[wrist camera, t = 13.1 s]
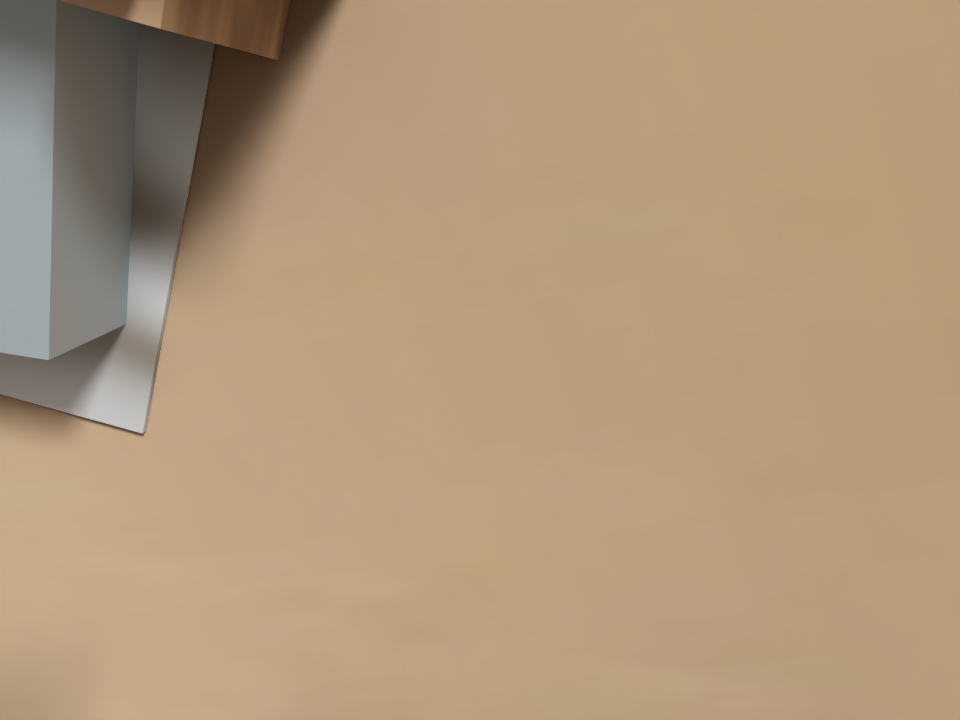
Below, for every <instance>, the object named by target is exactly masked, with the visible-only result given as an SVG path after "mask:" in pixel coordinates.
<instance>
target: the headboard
mask: <svg viewBox="0 0 960 720" xmlns="http://www.w3.org/2000/svg"><path fill="white" fill-rule="evenodd" d="M59 1H63V2H66V3H70V4H74V5H77V6H81V7H84V8H88V9H91V10H95V11H99V12H102V13H106V14H109V15H113V16H116V17H120V18H124V19H127V20H131V21H134V22H138V23H140V27H139V50H138V72H137V95H136V118H135V140H134V163H133V186H132V208H131V231H130V254H129V276H128V299H127V322H126V324H125V325H123V326H121V327H119V328H116V329H114V330H112V331H110V332H108V333H106V334H104V335H101V336H99V337H97V338H95V339H93V340H91V341H89V342H87V343H84V344H82V345H80V346H78V347H76V348H74V349H72V350H69V351H67V352H65V353H63V354H61V355H59V356H57V357H55V358H52V359H50V360H44V359H38V358H32V357H25V356H19V355H13V354H7V353H0V394H1V395H5V396H9V397H12V398H16V399H19V400H23V401H27V402H30V403H34V404H37V405H41V406H45V407H48V408H52V409H56V410H59V411H63V412H66V413H70V414H74V415H77V416H81V417H84V418H88V419H92V420H95V421H99V422H102V423H106V424H110V425H113V426H117V427H120V428H124V429H128V430H131V431H135V432H138V433H142V434H143V433H144V432H145V431H146V426H147V421H148V415H149V410H150V404H151V399H152V393H153V387H154V382H155V376H156V371H157V365H158V360H159V354H160V349H161V343H162V337H163V332H164V326H165V321H166V315H167V310H168V304H169V299H170V293H171V287H172V282H173V276H174V271H175V265H176V260H177V254H178V249H179V243H180V237H181V232H182V226H183V221H184V215H185V210H186V204H187V199H188V193H189V187H190V182H191V176H192V171H193V165H194V160H195V154H196V149H197V143H198V137H199V132H200V126H201V121H202V115H203V110H204V104H205V99H206V93H207V87H208V82H209V76H210V71H211V65H212V60H213V54H214V49H215V44H219V45H223V46H226V47H230V48H234V49H238V50H241V51H245V52H249V53H253V54H256V55H260V56H264V57H268V58H271V59H275V60H279V57H280V52H281V47H282V42H283V37H284V32H285V27H286V22H287V17H288V12H289V7H290V2H291V0H59Z"/></svg>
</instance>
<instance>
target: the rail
mask: <svg viewBox="0 0 960 720" xmlns="http://www.w3.org/2000/svg"><path fill="white" fill-rule="evenodd" d="M139 27H140V23H138V22H134V21H131V20H127V19H124V18H120V17H116V16H113V15H109V14H106V13H102V12H99V11H95V10H91V9H88V8H84V7H81V6H77V5H74V4H70V3H66V2H63V1H59V0H0V353H7V354H13V355H19V356H25V357H32V358H38V359H44V360H50V359H52V358H55V357H57V356H59V355H61V354H63V353H65V352H67V351H69V350H72V349H74V348H76V347H78V346H80V345H82V344H84V343H87V342H89V341H91V340H93V339H95V338H97V337H99V336H101V335H104V334H106V333H108V332H110V331H112V330H114V329H116V328H119V327H121V326H123V325H125V324H126V322H127V299H128V276H129V254H130V231H131V208H132V186H133V163H134V140H135V118H136V95H137V72H138V50H139Z"/></svg>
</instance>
